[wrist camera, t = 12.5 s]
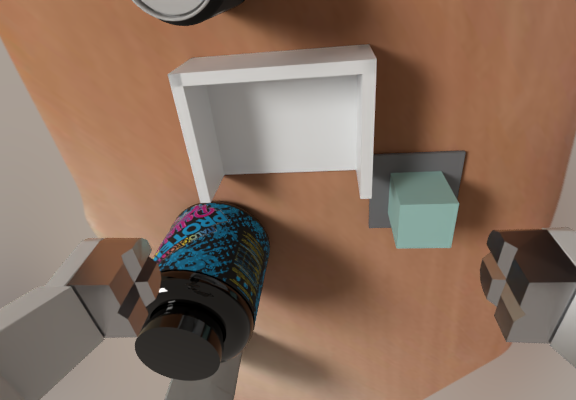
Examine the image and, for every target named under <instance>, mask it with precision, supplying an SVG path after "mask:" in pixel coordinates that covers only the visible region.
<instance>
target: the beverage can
mask: <svg viewBox="0 0 576 400" xmlns="http://www.w3.org/2000/svg"><path fill="white" fill-rule="evenodd" d="M132 1H133V2H134V3H135V4H136V5H137V6H138V7H140V8H141V9H142V10H143V11H145V12H146V13H148V14H150V15H152V16H154V17H156V18H158V19H160V20H162V21H164V22H166V23H169V24H173V25H179V26H189V25H194V24H198V23H201V22H203V21H205V20H207V19H209V18H212V17H214V16H216V15H218V14H220V13H223V12H225V11H227V10H229V9H231V8H234V7H236V6H238V5H239V4H241V3H242V2H243V1H244V0H132Z"/></svg>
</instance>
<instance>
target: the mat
mask: <svg viewBox="0 0 576 400" xmlns="http://www.w3.org/2000/svg"><path fill="white" fill-rule="evenodd" d="M465 153H466V152H465V151H440V152H415V153H391V154H373V174H372V198H371V199H370V203H369V228H391V224H390V220H389V215H388V204H389V189H390V174H391V173H403V172H432V171H442V173H443V175H444V177H445V179H446V180H447V182H448V184H449V186H450V188H451V189H452V191H453V193H454V195H455V197H456V199H457V197H458V192H459V186H460V181H461V175H462V170H463V164H464V159H465Z"/></svg>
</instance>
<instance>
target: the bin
mask: <svg viewBox="0 0 576 400" xmlns="http://www.w3.org/2000/svg"><path fill="white" fill-rule="evenodd" d="M376 66H377V59H376V57H375V55H374V53H373V51H372V49H371V47H370V45H369V44H365V45H352V46H339V47H326V48H313V49H300V50H287V51H275V52H262V53H249V54H236V55H223V56H210V57H197V58H191V59H189V60H188V61H186V62H185V63H183V64H182V65H180V66H179V67H178V68H176V69H175V70H173V71H172V72H170V73H169V74H168V77H169V81H170V85H171V89H172V93H173V97H174V101H175V105H176V109H177V113H178V117H179V121H180V124H181V128H182V132H183V136H184V140H185V144H186V148H187V152H188V156H189V160H190V164H191V167H192V171H193V175H194V179H195V183H196V187H197V191H198V195H199V199H200V203H211V201H212V199H213V197H214V195H215V193H216V191H217V189H218V187H219V185H220V183H221V181H222V179H223V177H224V175H228V174H256V173H283V172H311V171H338V170H356V172H357V179H358V186H359V193H360V199H371V198H372V174H373V147H374V120H375V93H376Z"/></svg>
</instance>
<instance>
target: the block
mask: <svg viewBox="0 0 576 400" xmlns="http://www.w3.org/2000/svg"><path fill="white" fill-rule="evenodd" d="M458 207H459V202H458V200H457V199H456V197H455V195H454V193H453V191H452V189H451V188H450V186H449V184H448V182H447V180H446V179H445V177H444V175H443V173H442V171H432V172H403V173H391V174H390V189H389V204H388V215H389V220H390V224H391V228H392V232H393V236H394V240H395V244H396V248H451V245H452V239H453V234H454V229H455V223H456V218H457V213H458Z"/></svg>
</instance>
